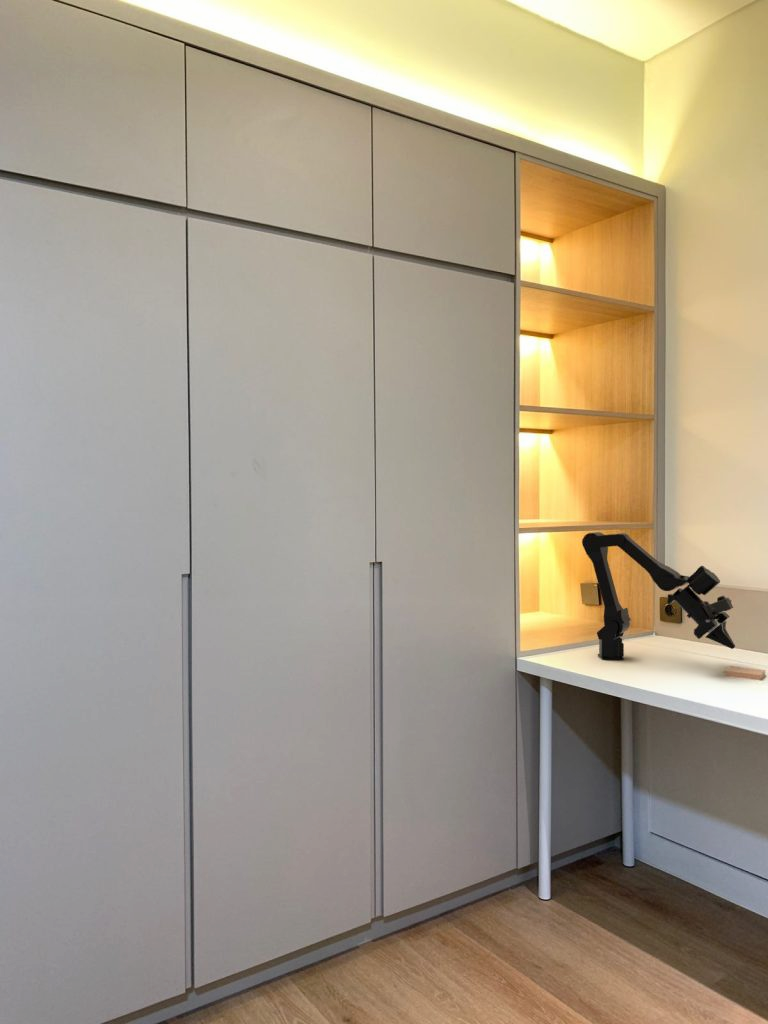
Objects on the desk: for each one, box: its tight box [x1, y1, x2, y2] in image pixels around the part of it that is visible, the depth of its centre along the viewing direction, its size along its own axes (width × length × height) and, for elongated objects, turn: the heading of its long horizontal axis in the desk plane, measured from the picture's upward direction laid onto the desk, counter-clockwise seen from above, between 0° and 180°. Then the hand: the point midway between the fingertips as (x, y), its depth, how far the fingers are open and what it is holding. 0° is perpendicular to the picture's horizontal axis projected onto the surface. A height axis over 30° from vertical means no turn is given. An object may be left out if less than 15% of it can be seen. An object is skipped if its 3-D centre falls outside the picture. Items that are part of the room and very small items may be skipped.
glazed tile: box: [724, 665, 766, 681], centre depth 217 cm, size 2×7×9 cm
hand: (734, 647), depth 218 cm, fingers closed
